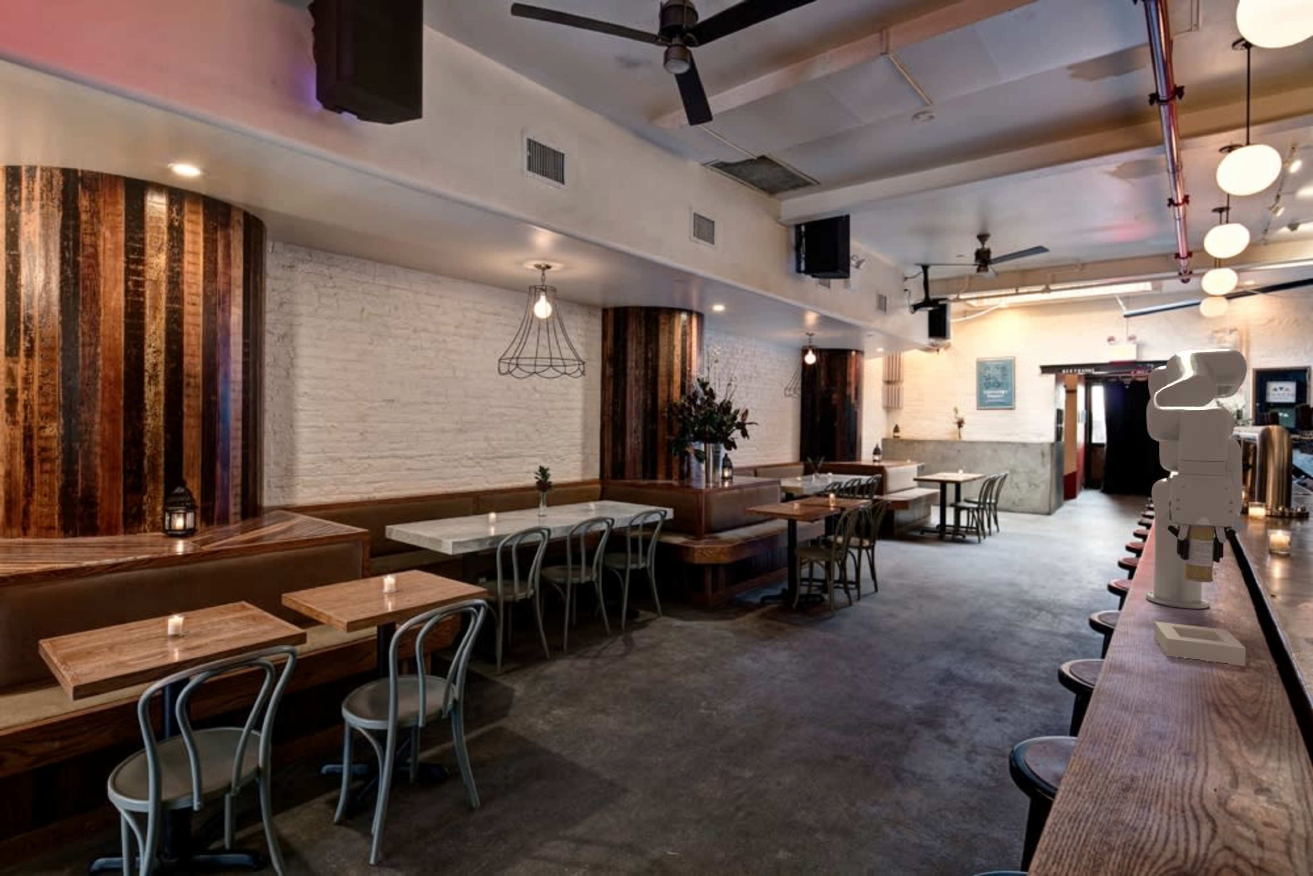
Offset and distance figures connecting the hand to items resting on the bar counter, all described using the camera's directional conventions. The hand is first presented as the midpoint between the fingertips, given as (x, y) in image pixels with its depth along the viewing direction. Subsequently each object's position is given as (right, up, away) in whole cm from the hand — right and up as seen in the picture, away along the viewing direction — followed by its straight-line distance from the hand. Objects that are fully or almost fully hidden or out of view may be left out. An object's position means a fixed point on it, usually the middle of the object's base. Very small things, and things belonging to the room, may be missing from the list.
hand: (1199, 559), depth 133 cm
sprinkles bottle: (0, -5, 0) cm, 5 cm away
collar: (0, -19, +1) cm, 19 cm away
